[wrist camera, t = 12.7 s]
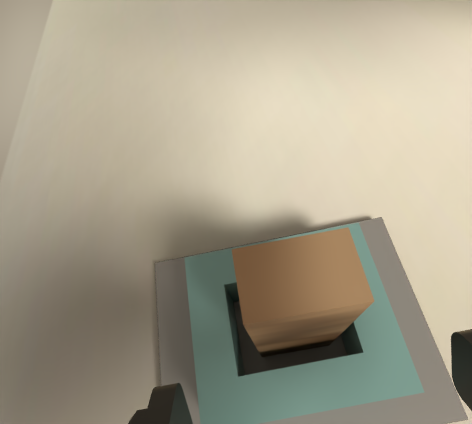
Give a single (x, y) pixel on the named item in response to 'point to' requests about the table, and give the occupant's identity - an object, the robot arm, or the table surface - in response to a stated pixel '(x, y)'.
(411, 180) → the table surface
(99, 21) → the table surface
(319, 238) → the block
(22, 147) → the table surface
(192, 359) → the teal and grey socket
